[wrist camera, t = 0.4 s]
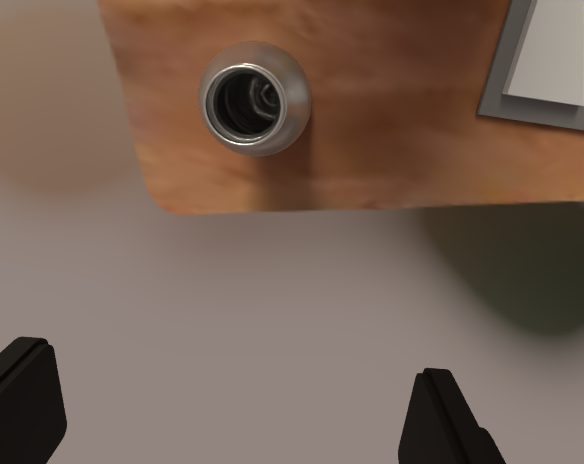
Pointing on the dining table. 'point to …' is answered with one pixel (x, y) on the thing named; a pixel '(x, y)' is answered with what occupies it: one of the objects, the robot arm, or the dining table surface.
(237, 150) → the metal water bottle
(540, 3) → the empty strip
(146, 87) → the dining table surface
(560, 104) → the mat
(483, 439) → the robot arm
